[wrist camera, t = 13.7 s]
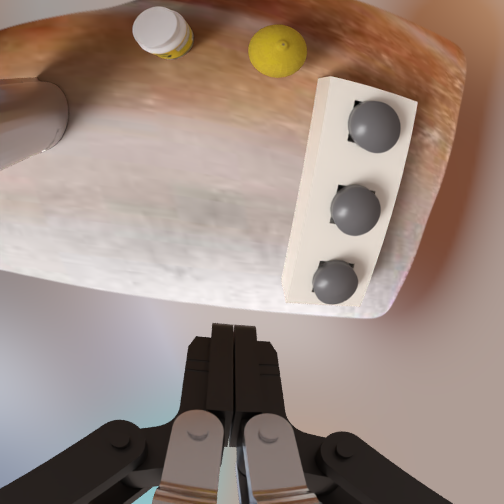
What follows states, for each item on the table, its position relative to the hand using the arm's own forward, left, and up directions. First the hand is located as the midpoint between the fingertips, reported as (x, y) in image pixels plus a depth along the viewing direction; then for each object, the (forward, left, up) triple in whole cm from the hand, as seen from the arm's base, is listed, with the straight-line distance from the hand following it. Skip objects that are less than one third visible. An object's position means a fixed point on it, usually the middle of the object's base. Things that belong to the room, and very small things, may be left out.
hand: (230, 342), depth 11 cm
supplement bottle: (-16, +4, -27) cm, 32 cm away
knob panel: (+10, +8, -27) cm, 30 cm away
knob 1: (+16, +2, -26) cm, 31 cm away
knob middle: (+10, +8, -26) cm, 29 cm away
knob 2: (+4, +14, -26) cm, 30 cm away
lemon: (-8, +11, -27) cm, 30 cm away
